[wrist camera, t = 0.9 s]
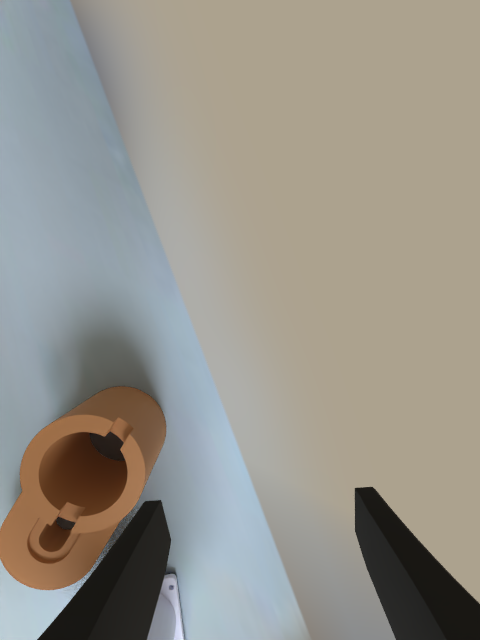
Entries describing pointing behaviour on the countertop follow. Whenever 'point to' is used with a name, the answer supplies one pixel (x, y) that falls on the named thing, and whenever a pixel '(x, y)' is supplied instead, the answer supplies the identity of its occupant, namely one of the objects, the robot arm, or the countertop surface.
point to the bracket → (79, 487)
